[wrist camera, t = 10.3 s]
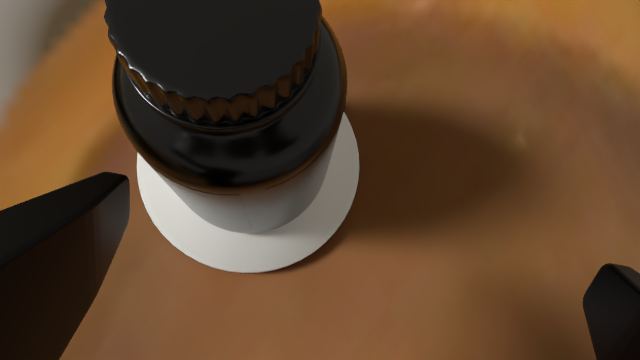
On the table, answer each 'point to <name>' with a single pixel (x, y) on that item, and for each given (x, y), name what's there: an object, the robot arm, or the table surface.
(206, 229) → the coaster
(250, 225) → the supplement bottle
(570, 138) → the table surface
